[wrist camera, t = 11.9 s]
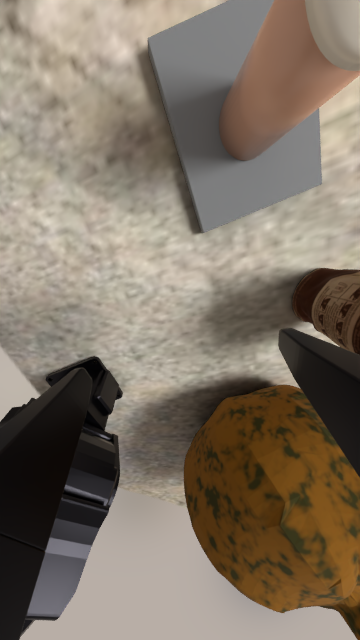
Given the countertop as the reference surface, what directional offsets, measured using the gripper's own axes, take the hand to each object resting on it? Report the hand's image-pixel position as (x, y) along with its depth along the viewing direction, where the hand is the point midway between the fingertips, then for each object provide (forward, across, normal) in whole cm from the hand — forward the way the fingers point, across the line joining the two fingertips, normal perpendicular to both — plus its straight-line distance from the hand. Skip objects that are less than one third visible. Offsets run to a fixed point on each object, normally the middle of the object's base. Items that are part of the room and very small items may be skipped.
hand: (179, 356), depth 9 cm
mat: (+14, -8, -10) cm, 19 cm away
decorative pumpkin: (+10, -6, +24) cm, 27 cm away
